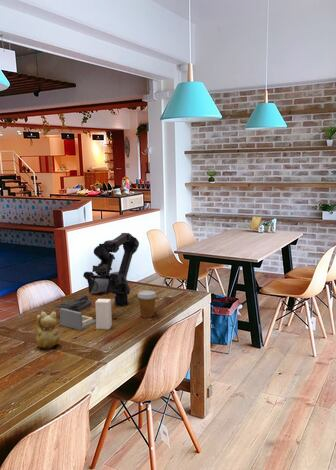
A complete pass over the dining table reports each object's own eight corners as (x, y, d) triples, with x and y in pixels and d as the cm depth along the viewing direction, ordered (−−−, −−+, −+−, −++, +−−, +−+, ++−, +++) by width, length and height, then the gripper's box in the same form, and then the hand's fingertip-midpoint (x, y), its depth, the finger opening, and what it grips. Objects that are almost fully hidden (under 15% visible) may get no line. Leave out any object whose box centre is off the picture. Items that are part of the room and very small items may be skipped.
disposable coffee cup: (160, 315, 214) (160, 292, 212) (147, 320, 207) (146, 296, 205) (147, 310, 220) (147, 288, 218) (134, 315, 214) (133, 292, 212)
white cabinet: (100, 324, 203) (99, 298, 201) (112, 324, 202) (111, 298, 200) (96, 328, 197) (95, 302, 195) (108, 329, 197) (107, 302, 194)
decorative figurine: (60, 341, 183) (58, 308, 181) (59, 349, 175) (57, 315, 173) (37, 343, 182) (35, 310, 179) (35, 352, 174) (32, 317, 171)
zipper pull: (53, 305, 212) (79, 290, 235) (53, 317, 213) (79, 302, 236) (68, 306, 209) (93, 292, 232) (69, 319, 210) (93, 303, 233)
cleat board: (76, 317, 212) (75, 302, 210) (96, 322, 205) (95, 306, 204) (60, 324, 203) (59, 308, 201) (80, 330, 196) (79, 313, 194)
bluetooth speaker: (114, 284, 269) (113, 269, 267) (125, 287, 263) (125, 271, 262) (88, 294, 251) (87, 277, 249) (99, 296, 245) (99, 280, 244)
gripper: (82, 256, 209) (73, 286, 202) (116, 258, 202) (108, 289, 196) (92, 265, 218) (84, 294, 212) (125, 267, 212) (117, 297, 205)
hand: (98, 293), depth 206 cm, fingers open, 9 cm apart
